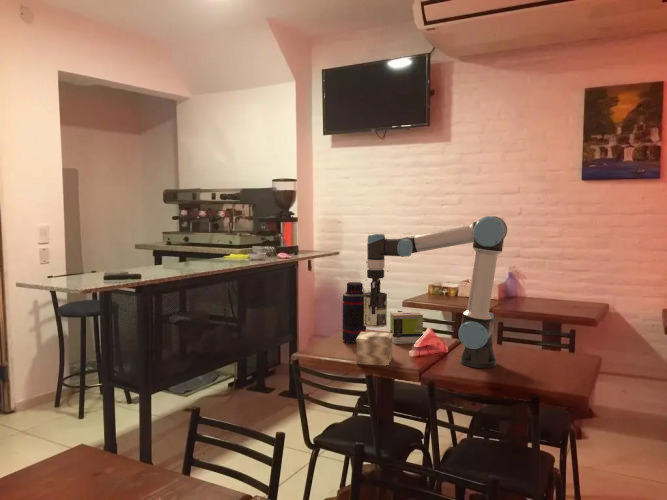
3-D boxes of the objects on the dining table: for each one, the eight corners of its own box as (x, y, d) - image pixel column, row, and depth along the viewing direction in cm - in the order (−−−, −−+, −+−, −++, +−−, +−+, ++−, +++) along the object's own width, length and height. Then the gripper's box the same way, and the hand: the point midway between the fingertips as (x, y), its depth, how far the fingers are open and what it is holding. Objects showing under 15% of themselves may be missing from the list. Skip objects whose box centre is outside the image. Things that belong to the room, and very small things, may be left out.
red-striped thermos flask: (366, 344, 280) (367, 284, 278) (342, 344, 280) (343, 284, 278) (364, 338, 294) (365, 280, 292) (341, 337, 294) (342, 280, 292)
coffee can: (385, 322, 255) (386, 291, 254) (387, 327, 244) (387, 295, 243) (363, 322, 255) (363, 291, 254) (363, 327, 244) (364, 295, 243)
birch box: (392, 357, 256) (393, 333, 256) (389, 365, 242) (389, 340, 241) (360, 355, 259) (361, 331, 258) (355, 363, 245) (355, 338, 244)
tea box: (418, 339, 292) (419, 311, 291) (423, 344, 282) (423, 314, 281) (389, 339, 291) (390, 311, 290) (393, 344, 281) (393, 314, 280)
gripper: (370, 266, 259) (370, 314, 261) (363, 271, 237) (362, 323, 239) (387, 266, 258) (386, 314, 260) (381, 272, 236) (380, 324, 237)
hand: (375, 319), depth 249 cm, fingers closed on coffee can, 10 cm apart
